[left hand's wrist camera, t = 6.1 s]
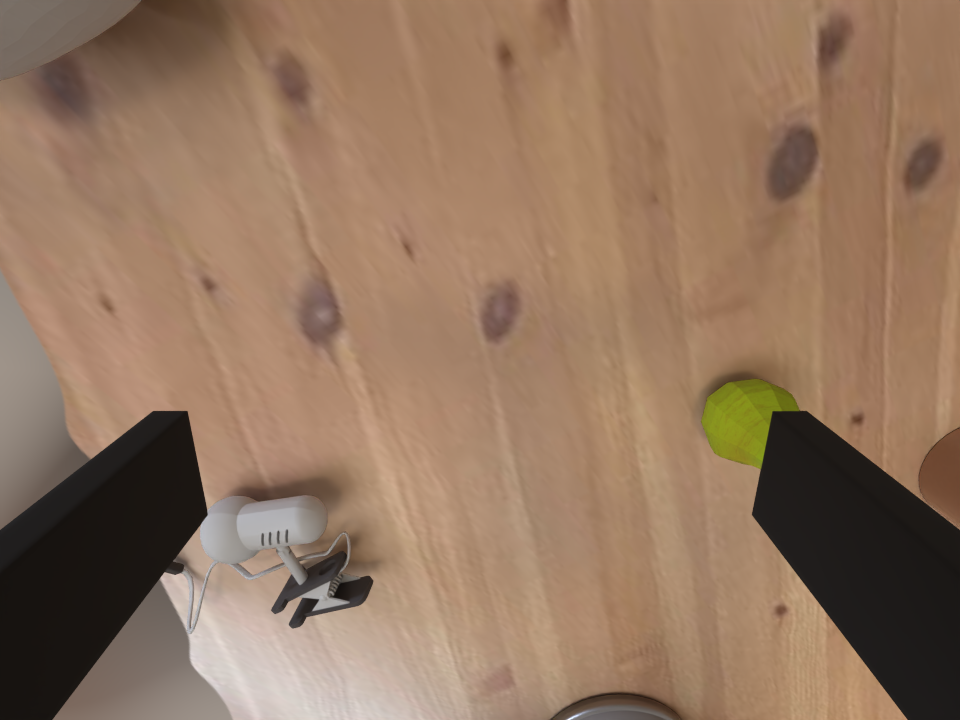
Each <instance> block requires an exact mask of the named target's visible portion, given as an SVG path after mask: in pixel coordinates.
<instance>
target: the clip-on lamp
mask: <svg viewBox="0 0 960 720" xmlns="http://www.w3.org/2000/svg"><path fill="white" fill-rule="evenodd" d="M207 512H208V516H207V517H206V518H205V520H204V521H203V522H202V523H201V527H200V539H201V544H202V547H203V549H204V551H205V553H206V554H207V555H208V556H209V557H210V558H211V559H213V560H215V561H214V562H213V563H212V564H211V565H210V568H209V570H208V572H207V574H206V577H205V581H204V584H203V587H202V591H201V595H200V600H199V604H198V608H197V612H196V616H195V619H194V622H193V625H192V627H191V618H192V609H193V600H194V584H193V578H192V576H191V574H190V573H189V572H188V571H187V570H185V569H184V565H183V564H180V563H176V562H172V563H171V564H170V566H169V567H168V568H167V569H166V571H165V572H166V573H170V574H174V575H176V574H179V573H182V574H184V576H185V577H186V579H187V580H188V584H189V591H190V592H189V609H188V619H187V633H189V634H191V633H192V632H193V631H194V629H195V626H196V623H197V621H198V617H199V613H200V609H201V604H202V600H203V595H204V591H205V587H206V584H207V580H208V577H209V575H210V572H211V570H212V568H213V567H214V566H215V564H216V563H223V564H228V565H230V566H231V567H233V568H234V569H235V570H237V571H238V572H239V573H240V574H241V575H242V576H244V577H245V578H246V579H248V580H253V579H256V578H258V577H261V576H263V575H265V574H268V573H270V572H272V571H274V570H277V569H279V568H282V567H284V566H287V568H288V569H289V571H290V572H291V576H290V578H289V580H288V581H287V583H286V585H285V587H284V588H283V590H282V592H281V593H280V595H279V597H278V599H277V600H276V602H275V604H274V606H273V607H272V609H271V611H272V612H273V613H274V614H276V613H279V612H281V611H283V610H284V608H285V607H286V605H287V603H288V602H289V601H291V600H293V599H295V598H297V597H303V598H302V600H301V602H300V604H299V606H298V607H297V609H296V611H295V613H294V615H293V617H292V619H291V621H290V623H289V626H290V627H291V628H297V627H300V626H301V625H302V624H303V623H304V621H305V619H306V617H309V616H314V615H318V614H323V613H328V612H332V611H337V610H341V609H346V608H351V607H355V606H359V605H361V604H362V603H363V602H364V601H365V600H366V598H367V597H368V594H369V592H370V589H371V587H372V584H373V580H372V578H371V577H370V576H364V577H357V576H353V575H349V574H344V573H341V572H342V571H343V570H344V569H345V567H346V566H347V564H348V562H349V560H350V555H351V543H350V537H349V535H348V533H347V532H342V533H341V534H340V535H339V536H338V537H337V538H336V540H335V541H334V543H333V544H332V546H331V547H330V548H329V550H328V551H325V552H318V553H313V554H309V555H305V556H301V557H298V558H296V557H295V555H294V554H293V552H292V551H291V549H290V548H289V546H292V545H299V544H306V543H312V542H314V541H316V540H317V539H319V538H320V536H321V535H322V534H323V533H324V531H325V529H326V526H327V522H328V514H327V510H326V508H325V505H324V504H323V503H322V501H321V500H320V499H318V498H316V497H315V496H310V495H302V496H295V497H289V498H282V499H275V500H268V501H261V502H258V501H256V500H254V499H252V498H250V497H247V496H231V497H227V498H225V499H222V500H220V501H218V502H216V503H215V504H214V505H213V506H212V507H210V508H209V509H208V511H207ZM343 534H345V535H346V537H347V543H348V555H346V554H345V553H344V552H343V551H341V552H339V553H337V554H335V555H333V556H331V557H329V558H327V559H325V560H323V561H322V562H320V563H318V564H316V565H314V566H312V567H310V568H308V569H305V568H304V567H303V566H302V565H301V564H300V562H299V561H302V560H306V559H310V558H314V557H320V556H326V555H328V554H329V553H330V552H331V551H332V550H333V548H334V546H335V545H336V543H337V541H338V540H339V538H340V537H341V536H342V535H343ZM271 548H277V550H276V552H277V553H278V555H279V556H280V558H281V559H282V560H283V562H284V563H281V564H279V565H276V566H274V567H272V568H269V569H267V570H265V571H263V572H260V573H258V574H256V575H252V574H250V573H249V572H248V571H247V570H246V569H245V568H243V567H242V566H241V565H239V564H238V563H242V562H244V561H246V560H248V559H250V558H252V557H253V556H255V555H256V554H257V553H258V552H259V551H260V550H264V549H271ZM346 558H347V560H346ZM345 560H346V562H345ZM344 562H345V564H344ZM343 564H344V565H343Z"/></svg>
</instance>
